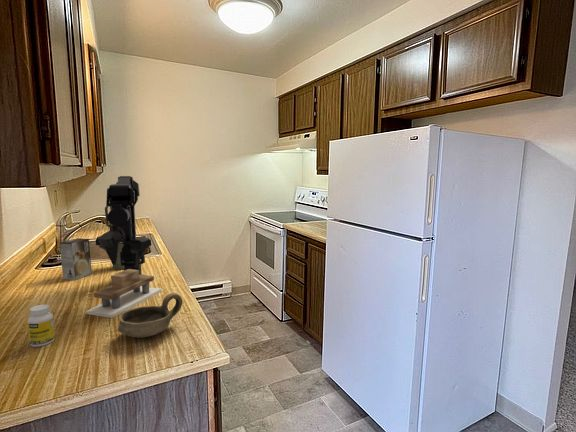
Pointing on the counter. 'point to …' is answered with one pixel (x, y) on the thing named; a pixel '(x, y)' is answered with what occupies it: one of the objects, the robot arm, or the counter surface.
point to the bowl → (149, 318)
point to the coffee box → (75, 258)
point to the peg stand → (123, 301)
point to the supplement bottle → (40, 326)
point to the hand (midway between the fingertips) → (124, 265)
